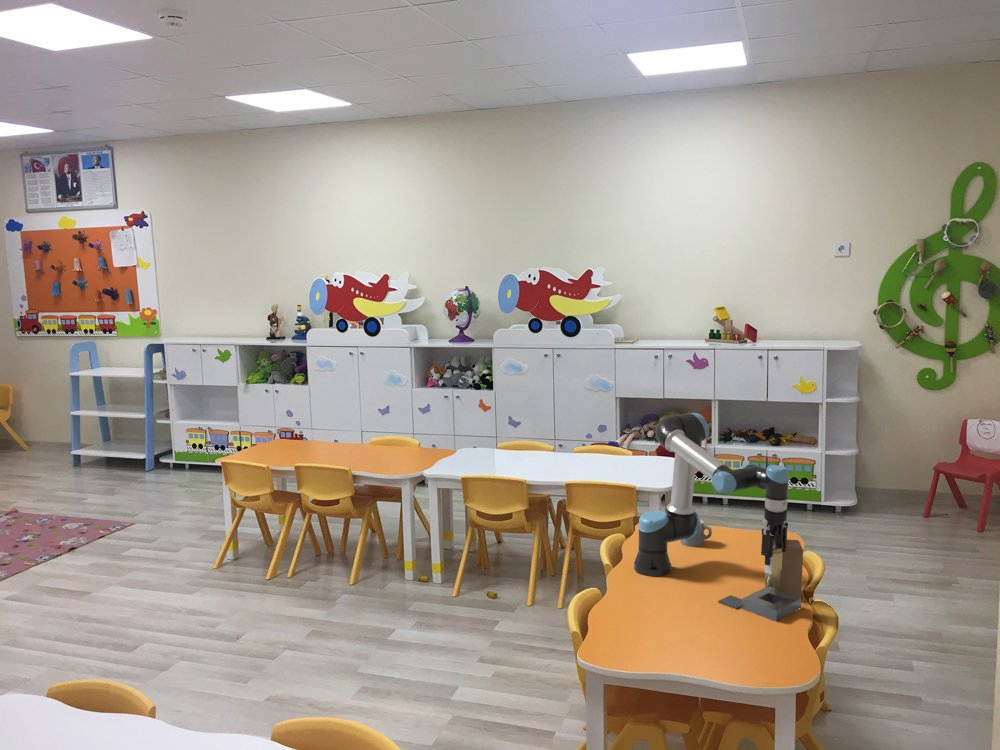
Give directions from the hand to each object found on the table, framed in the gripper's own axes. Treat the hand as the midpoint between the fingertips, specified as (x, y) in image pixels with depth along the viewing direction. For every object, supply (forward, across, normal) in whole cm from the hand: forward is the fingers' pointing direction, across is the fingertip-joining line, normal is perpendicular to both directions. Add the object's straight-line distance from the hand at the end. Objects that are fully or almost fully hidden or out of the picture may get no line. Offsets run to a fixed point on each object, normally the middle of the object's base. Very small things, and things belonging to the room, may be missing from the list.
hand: (773, 570), depth 294 cm
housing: (+14, 0, 0) cm, 14 cm away
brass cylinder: (+5, 0, 0) cm, 5 cm away
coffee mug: (+16, +35, +60) cm, 71 cm away
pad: (+15, -6, +12) cm, 20 cm away
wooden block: (+15, +16, +4) cm, 22 cm away
